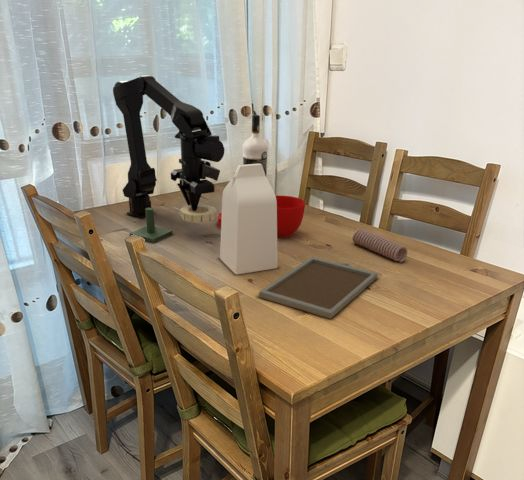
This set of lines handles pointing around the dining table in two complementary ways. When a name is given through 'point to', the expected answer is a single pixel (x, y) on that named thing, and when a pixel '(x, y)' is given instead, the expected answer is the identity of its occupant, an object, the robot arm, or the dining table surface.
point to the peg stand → (152, 229)
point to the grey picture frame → (319, 286)
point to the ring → (198, 213)
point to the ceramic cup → (289, 215)
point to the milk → (249, 222)
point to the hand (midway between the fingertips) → (192, 209)
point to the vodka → (255, 146)
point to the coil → (380, 245)
